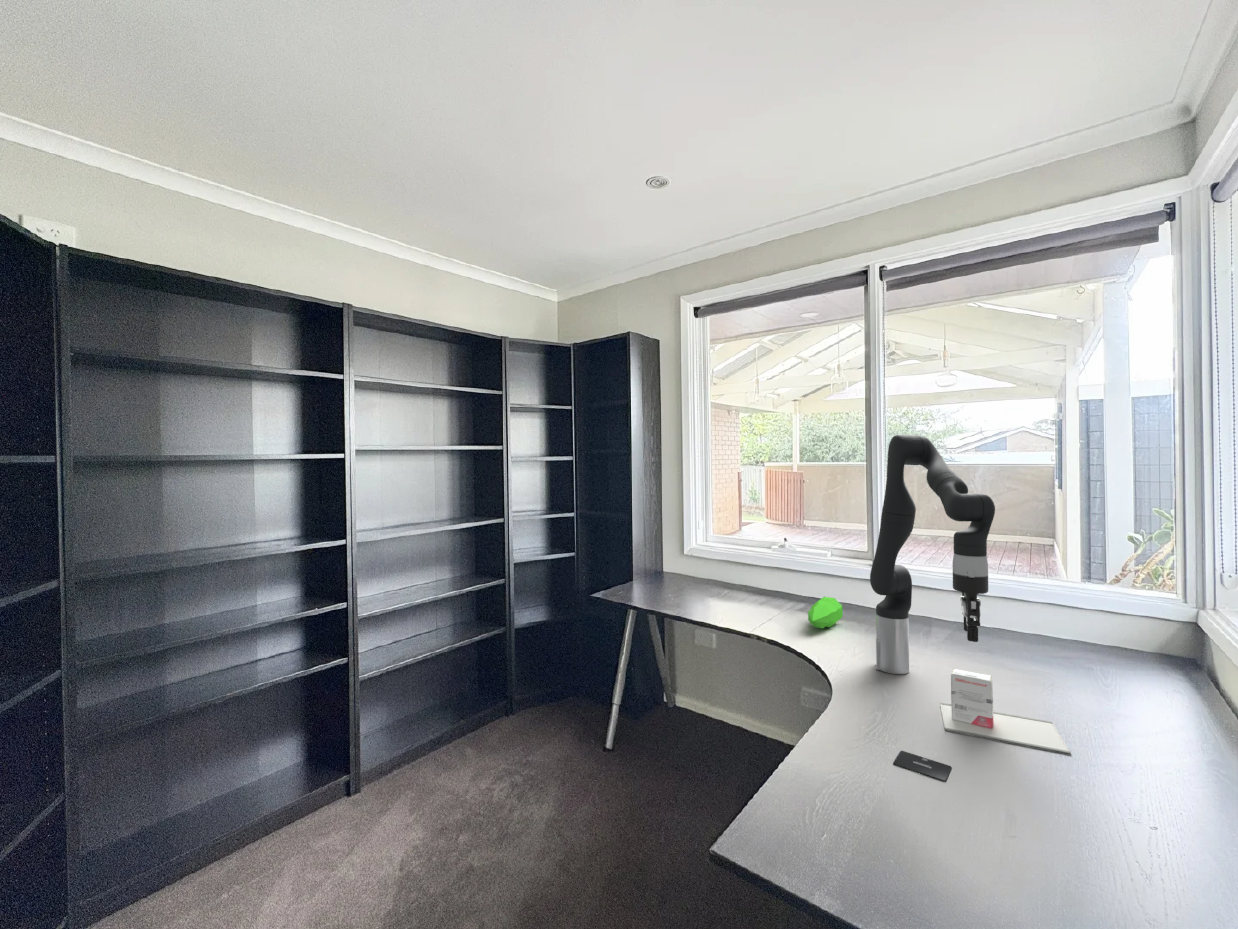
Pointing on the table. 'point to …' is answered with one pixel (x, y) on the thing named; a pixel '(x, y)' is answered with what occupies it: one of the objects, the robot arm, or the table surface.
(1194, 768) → the table surface
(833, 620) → the green faceted egg part
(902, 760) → the solid state drive
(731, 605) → the table surface
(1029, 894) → the table surface
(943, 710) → the mat
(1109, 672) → the table surface
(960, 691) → the ink box
